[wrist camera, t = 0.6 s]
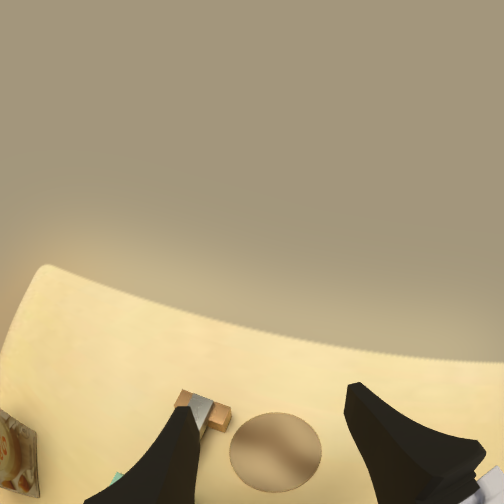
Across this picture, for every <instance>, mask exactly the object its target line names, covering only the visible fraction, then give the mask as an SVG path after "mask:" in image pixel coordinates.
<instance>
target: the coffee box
mask: <svg viewBox="0 0 504 504" xmlns="http://www.w3.org/2000/svg"><path fill="white" fill-rule="evenodd" d="M0 487H1V488H4V489H7V490H10V491H13V492H16V493H20V494H23V495H27V496H31V497H36V498H39V489H38V479H37V464H36V432H34V431H33V430H31V429H30V428H28V427H26V426H25V425H23V424H22V423H20V422H19V421H17V420H16V419H14V418H13V417H11V416H10V415H9V414H7V413H6V412H4V411H3V410H2V409H0Z"/></svg>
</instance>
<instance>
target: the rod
mask: <svg viewBox="0 0 504 504" xmlns="http://www.w3.org/2000/svg"><path fill="white" fill-rule="evenodd" d="M177 406H190V407H191V410H192V413H193V415H194V418H195V421H196V424H197V426H198V429H199V432H200V440H201V437H202V435H203V433H204V431H205V429H206V427H207V426H208V427H210V428H213V429H216V430H218V431H221V432H224V433H225V431H226V429H227V426H228V424H229V422H230V419H231V417H232V416H231V408H230V407H228V406H225V405H222V404H220V403H217V402H214V401H213V400H210V399H208V398H205V397H202V396H200V395H197V394H193V393H190V392H188V391H185V390H183V389H182V391H181V393H180V395H179V397H178V399H177V401H176V402H175V404H174V407H175V408H176V407H177Z"/></svg>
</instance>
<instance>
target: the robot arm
mask: <svg viewBox="0 0 504 504" xmlns="http://www.w3.org/2000/svg"><path fill="white" fill-rule="evenodd" d="M344 416H345V419H346V422H347V425H348V428H349V431H350V433H351V435H352V437H353V439H354V441H355V443H356V445H357V447H358V449H359V451H360V453H361V455H362V457H363V459H364V461H365V464H366V466H367V468H368V471H369V474H370V477H371V480H372V483H373V486H374V490H375V493H376V497H377V501H378V504H504V473H503V472H502V471H501V469H500V468H499V467H498V466H495V467H494V468H493V469H491V470H490V471H489V472H487V473H486V474H485V475H484V476H482V477H481V478H480V479H479V480H477V481H476V480H475V479H474V478H475V477H476V473H475V472H474V470H475V469H476V467H477V466H478V465H479V464H480V463H481V461H482V460H483V459H484V457H485V456H486V451H485V449H484V448H483V447H482V445H481V444H480V443H479V442H478V441H477V440H471V439H465V438H459V437H455V436H451V435H447V434H444V433H441V432H438V431H435V430H432V429H430V428H427V427H425V426H423V425H421V424H419V423H417V422H415V421H413V420H411V419H409V418H408V417H406V416H404V415H403V414H401V413H400V412H398V411H397V410H395V409H394V408H392V407H391V406H390V405H388V404H387V403H385V402H384V401H383V400H382V399H380V398H379V397H378V396H376V395H375V394H374V393H373V392H372V391H370V390H369V389H368V388H367V387H366V386H364V385H363V384H362V383H361V382H357V383H354V384H350V385H348V387H347V394H346V401H345V408H344ZM199 453H200V432H199V429H198V426H197V424H196V421H195V418H194V415H193V413H192V410H191V407H190V406H177V407H176V408H175V410H174V412H173V413H172V415H171V417H170V419H169V420H168V422H167V424H166V425H165V427H164V428H163V430H162V431H161V433H160V434H159V436H158V437H157V439H156V440H155V442H154V443H153V444H152V445H151V447H150V448H149V449H148V451H147V452H146V453H145V454H144V455H143V457H142V458H141V459H140V460H139V461H138V462H137V463H136V464H135V465H134V466H133V467H132V468H131V469H130V470H129V471H128V472H127V473H126V474H125V475H123V476H122V477H121V478H120V479H118V480H117V481H116V482H114V483H113V484H112V485H110V486H109V487H107V488H106V489H104V490H103V491H101V492H99V493H97V494H96V495H94V496H92V497H90V498H88V499H86V500H85V501H84V503H83V504H194V494H195V483H196V476H197V468H198V461H199Z"/></svg>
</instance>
